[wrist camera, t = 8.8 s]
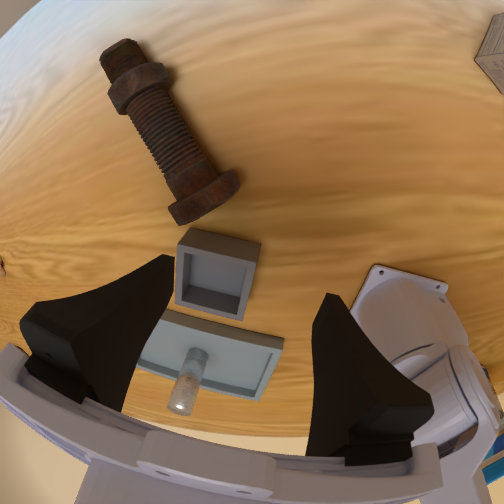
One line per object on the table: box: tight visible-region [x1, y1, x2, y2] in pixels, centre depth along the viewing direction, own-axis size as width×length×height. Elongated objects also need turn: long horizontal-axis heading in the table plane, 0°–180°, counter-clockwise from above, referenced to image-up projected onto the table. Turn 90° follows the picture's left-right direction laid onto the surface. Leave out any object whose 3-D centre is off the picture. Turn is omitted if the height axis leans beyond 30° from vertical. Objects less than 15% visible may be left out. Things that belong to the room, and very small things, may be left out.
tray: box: [136, 309, 283, 401], centre depth 30 cm, size 18×12×2 cm, turn 79°
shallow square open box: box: [175, 228, 261, 321], centre depth 23 cm, size 6×6×3 cm
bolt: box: [99, 39, 240, 226], centre depth 17 cm, size 6×5×15 cm
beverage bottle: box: [480, 366, 504, 485], centre depth 21 cm, size 8×8×20 cm
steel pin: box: [167, 347, 209, 416], centre depth 27 cm, size 3×3×8 cm
